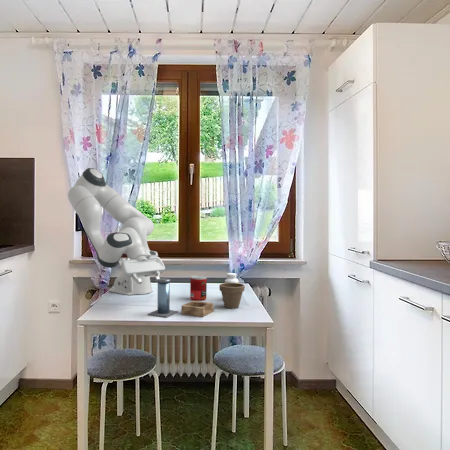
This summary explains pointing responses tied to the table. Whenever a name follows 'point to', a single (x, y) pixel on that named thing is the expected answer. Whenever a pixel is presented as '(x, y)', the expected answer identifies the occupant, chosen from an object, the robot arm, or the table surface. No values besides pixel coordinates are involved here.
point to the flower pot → (231, 294)
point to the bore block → (197, 308)
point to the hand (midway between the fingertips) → (149, 282)
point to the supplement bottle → (231, 278)
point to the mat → (163, 314)
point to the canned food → (198, 287)
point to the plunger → (163, 296)
